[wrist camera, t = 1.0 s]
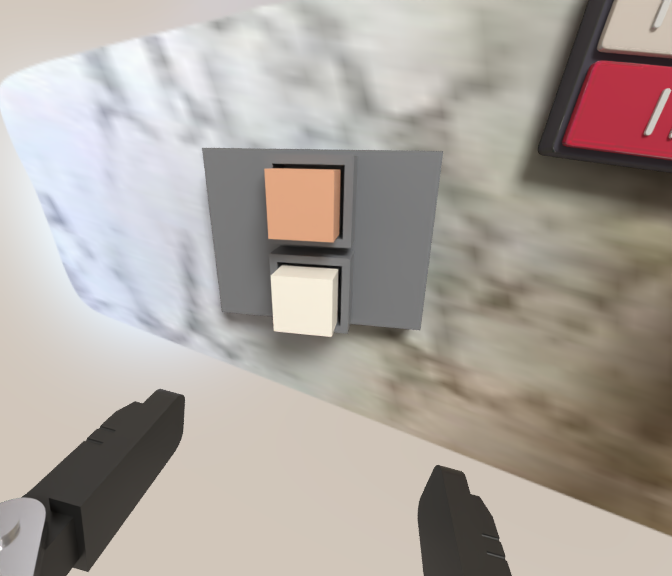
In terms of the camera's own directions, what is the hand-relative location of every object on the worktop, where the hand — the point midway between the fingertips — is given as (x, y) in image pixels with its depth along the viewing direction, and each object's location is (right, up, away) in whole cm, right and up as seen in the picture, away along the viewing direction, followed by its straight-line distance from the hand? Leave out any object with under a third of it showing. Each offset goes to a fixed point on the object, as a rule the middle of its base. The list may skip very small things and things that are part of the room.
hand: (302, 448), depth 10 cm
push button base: (0, +10, +19) cm, 21 cm away
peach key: (-1, +11, +13) cm, 17 cm away
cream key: (-1, +5, +15) cm, 16 cm away
